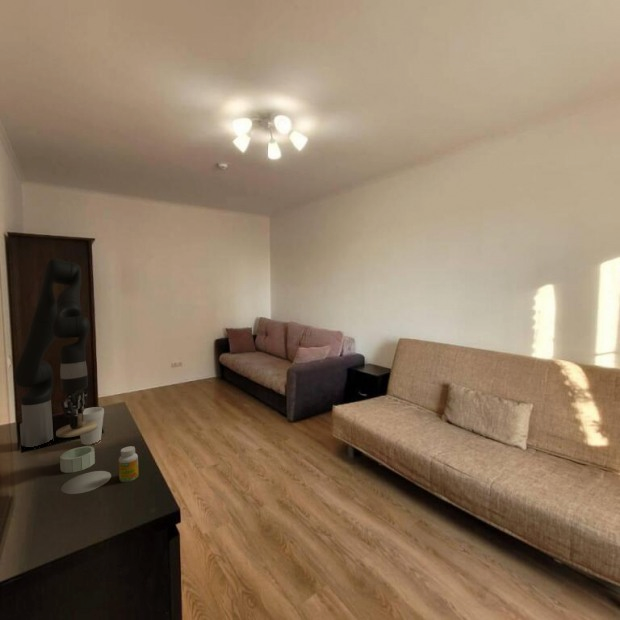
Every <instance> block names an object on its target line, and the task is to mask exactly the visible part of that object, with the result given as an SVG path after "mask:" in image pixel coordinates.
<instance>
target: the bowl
mask: <svg viewBox="0 0 620 620" xmlns="http://www.w3.org/2000/svg"><path fill="white" fill-rule="evenodd" d="M95 453H96V452H95V447H94V446H79V447H74V448H72V449H69V450H66V451H64V452H63V453H61V454H60V456H59V465H60V467H59V468H60V469H59V470H60V471H61V472H62V473H66V474H67V473H70V474H71V473H76V472H80V471H83V470H86V469H87V468H91V467H92V466H93V465H94V464H95V463H96V458H95V457H96V456H95V455H96V454H95Z"/></svg>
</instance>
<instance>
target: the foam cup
mask: <svg viewBox="0 0 620 620" xmlns="http://www.w3.org/2000/svg"><path fill="white" fill-rule="evenodd" d="M104 415H105V409H104V407H102V406H100V407H99V406H96V407H95V406H93V407H88V408H87V407H86V408H84V412H83V422H86V421H93V422H96V423H97V428H96V429H95V430H93V431H91V432H89V433H86V434H83V435H79V437H80V442H81V445H82V444H92V443H95V442H98V441H99V440H101V439H102V433H103V431H102V430H103V424H104ZM101 441H102V440H101Z"/></svg>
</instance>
